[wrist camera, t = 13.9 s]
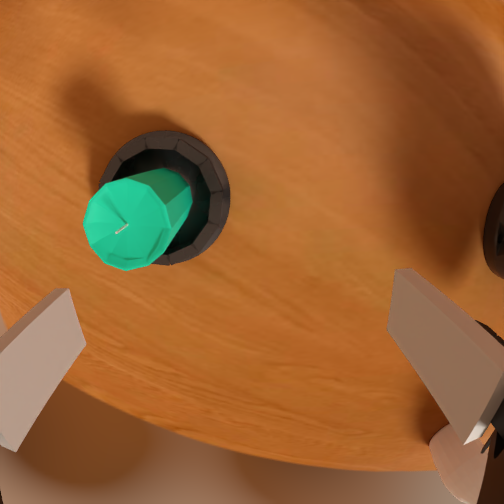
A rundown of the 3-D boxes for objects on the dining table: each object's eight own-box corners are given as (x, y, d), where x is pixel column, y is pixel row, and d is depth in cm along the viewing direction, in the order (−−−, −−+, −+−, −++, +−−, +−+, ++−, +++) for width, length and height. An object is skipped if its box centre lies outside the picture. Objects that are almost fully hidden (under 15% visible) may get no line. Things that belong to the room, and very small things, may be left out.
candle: (131, 227, 28) (76, 275, 17) (133, 166, 27) (72, 179, 15) (190, 232, 29) (164, 285, 18) (195, 169, 27) (168, 183, 16)
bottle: (464, 431, 48) (510, 504, 24) (424, 455, 49) (464, 536, 25) (467, 408, 44) (523, 491, 20) (423, 436, 46) (471, 528, 21)
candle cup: (148, 106, 26) (140, 102, 23) (257, 182, 29) (260, 185, 26) (83, 215, 28) (71, 221, 26) (182, 284, 32) (178, 296, 29)
